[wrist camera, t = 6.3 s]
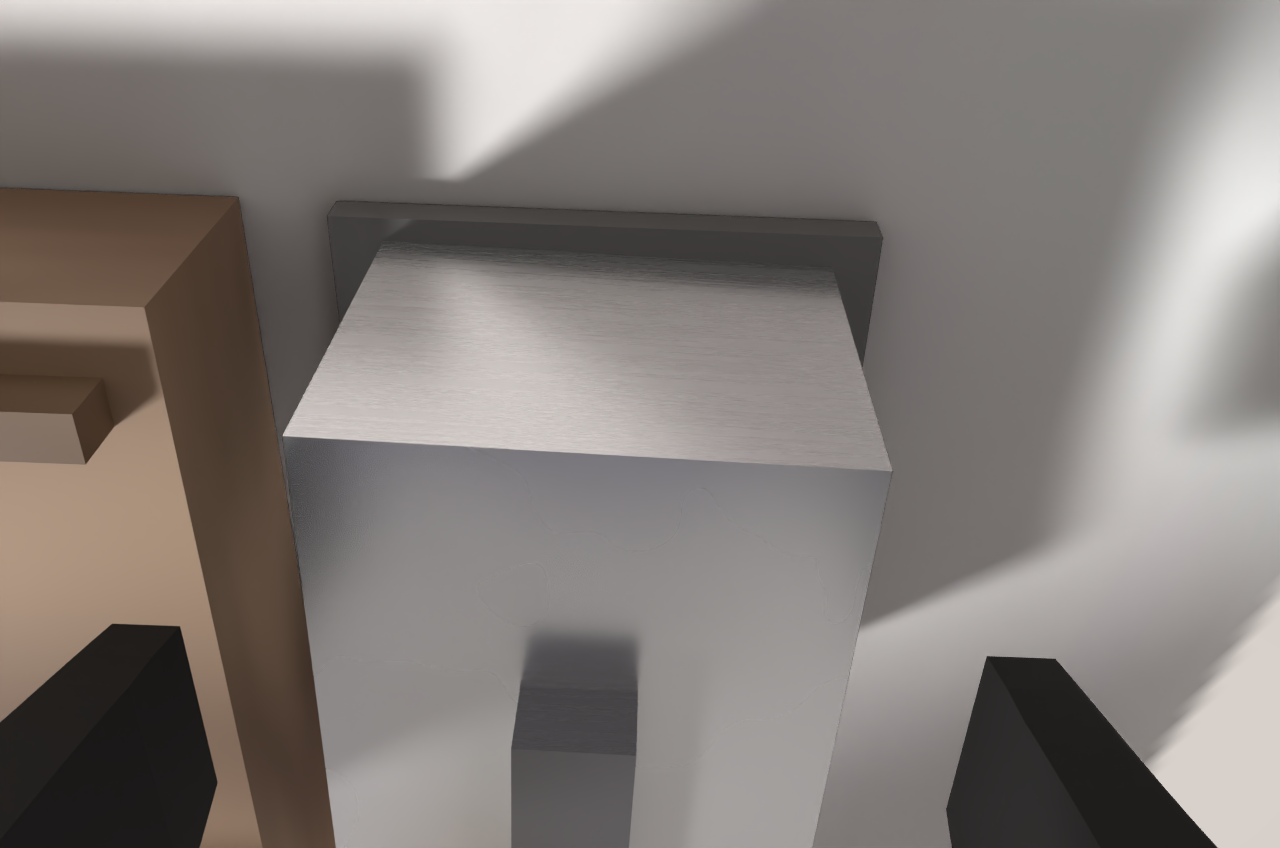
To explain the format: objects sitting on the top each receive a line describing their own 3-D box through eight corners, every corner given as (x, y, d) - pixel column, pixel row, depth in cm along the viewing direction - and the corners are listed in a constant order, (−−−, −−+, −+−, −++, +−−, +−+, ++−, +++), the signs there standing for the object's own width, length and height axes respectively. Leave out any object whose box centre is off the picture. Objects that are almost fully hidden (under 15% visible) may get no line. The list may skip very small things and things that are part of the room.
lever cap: (762, 695, 15) (795, 1021, 11) (412, 676, 15) (329, 998, 11) (832, 267, 12) (910, 528, 8) (383, 239, 11) (254, 491, 8)
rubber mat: (802, 710, 15) (804, 732, 15) (392, 695, 15) (386, 717, 15) (876, 221, 12) (882, 236, 11) (337, 200, 12) (327, 216, 11)
